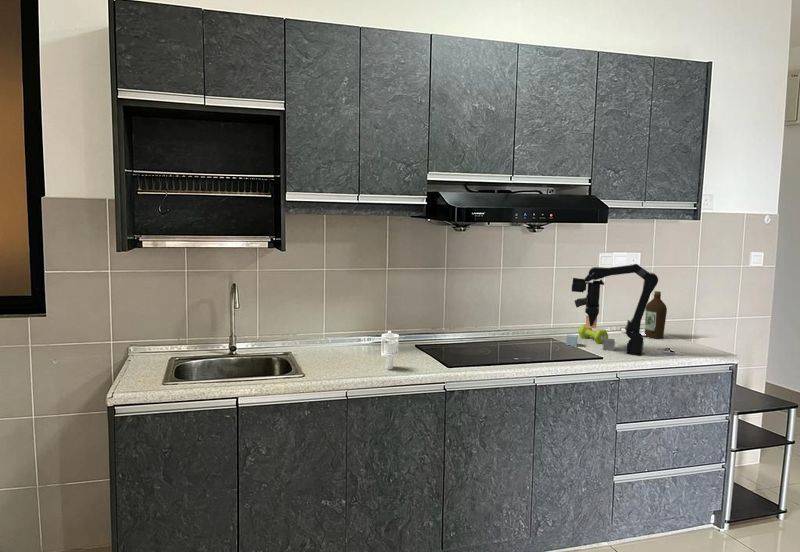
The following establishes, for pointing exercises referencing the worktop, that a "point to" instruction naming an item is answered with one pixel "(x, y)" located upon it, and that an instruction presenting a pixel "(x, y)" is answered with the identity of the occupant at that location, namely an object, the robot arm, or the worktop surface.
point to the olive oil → (655, 317)
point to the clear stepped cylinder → (389, 348)
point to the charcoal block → (608, 344)
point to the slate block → (571, 340)
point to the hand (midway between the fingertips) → (591, 324)
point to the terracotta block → (589, 323)
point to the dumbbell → (593, 334)
